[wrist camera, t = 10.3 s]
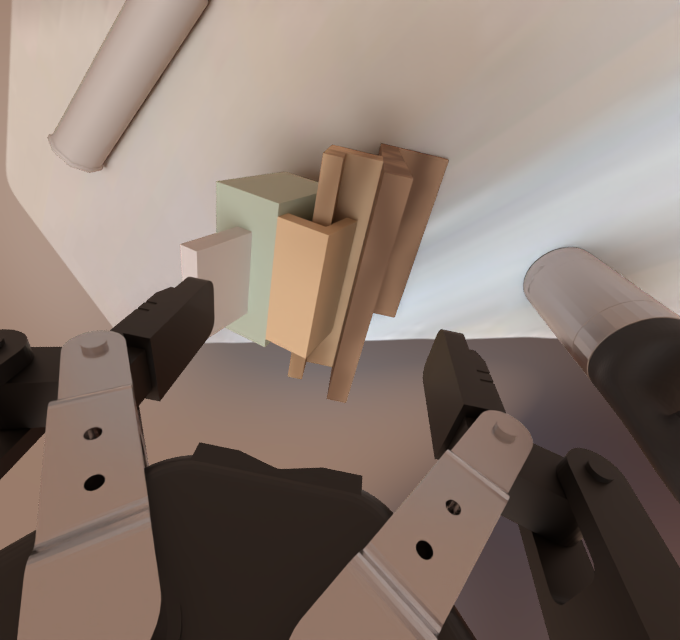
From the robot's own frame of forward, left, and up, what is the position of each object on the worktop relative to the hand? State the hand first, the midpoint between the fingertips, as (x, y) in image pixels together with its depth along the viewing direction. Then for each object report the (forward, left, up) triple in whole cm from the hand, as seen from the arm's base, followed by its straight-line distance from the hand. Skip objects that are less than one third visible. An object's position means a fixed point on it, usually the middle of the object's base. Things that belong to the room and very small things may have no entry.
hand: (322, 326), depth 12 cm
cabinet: (+3, +8, -26) cm, 27 cm away
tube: (+27, -5, -35) cm, 45 cm away
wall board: (-3, +8, -35) cm, 36 cm away
